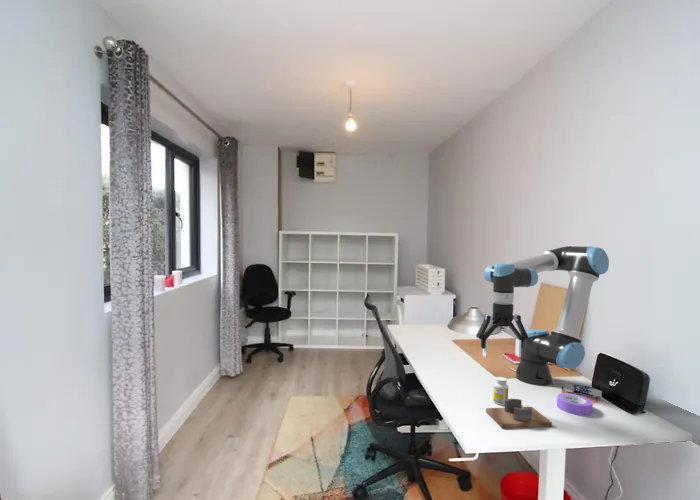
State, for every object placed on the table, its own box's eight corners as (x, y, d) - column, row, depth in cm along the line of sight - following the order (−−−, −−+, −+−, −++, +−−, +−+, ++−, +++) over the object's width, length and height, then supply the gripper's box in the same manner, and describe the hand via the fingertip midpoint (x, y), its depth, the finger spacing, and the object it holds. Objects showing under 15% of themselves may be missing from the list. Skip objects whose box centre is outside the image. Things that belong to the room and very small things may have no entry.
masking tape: (568, 400, 151) (569, 390, 151) (599, 412, 140) (599, 402, 140) (550, 405, 145) (550, 396, 145) (580, 418, 135) (580, 408, 135)
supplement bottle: (497, 405, 144) (498, 381, 144) (490, 399, 150) (491, 376, 149) (510, 405, 145) (511, 381, 145) (503, 399, 150) (504, 376, 150)
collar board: (531, 410, 140) (531, 396, 140) (551, 426, 129) (552, 410, 128) (485, 412, 139) (486, 397, 139) (502, 428, 127) (502, 412, 127)
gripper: (476, 304, 141) (475, 359, 142) (538, 304, 144) (537, 358, 144) (468, 301, 149) (467, 353, 149) (527, 301, 151) (526, 352, 152)
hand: (501, 356), depth 147 cm, fingers open, 13 cm apart
